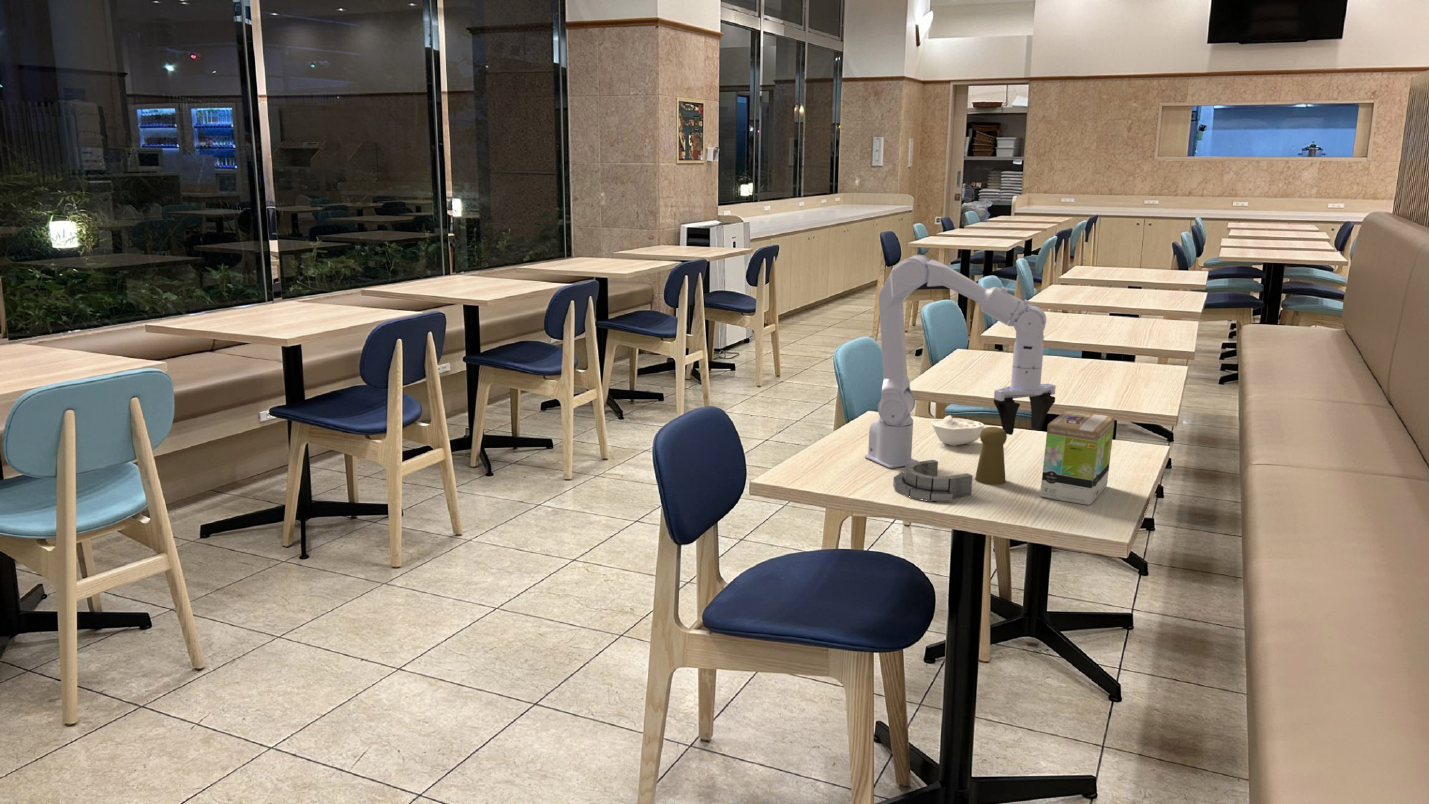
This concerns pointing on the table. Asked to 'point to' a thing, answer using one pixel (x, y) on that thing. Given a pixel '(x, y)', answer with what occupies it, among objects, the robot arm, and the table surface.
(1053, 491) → the tea box
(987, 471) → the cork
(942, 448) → the table surface
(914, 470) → the hub collar
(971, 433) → the cell model
